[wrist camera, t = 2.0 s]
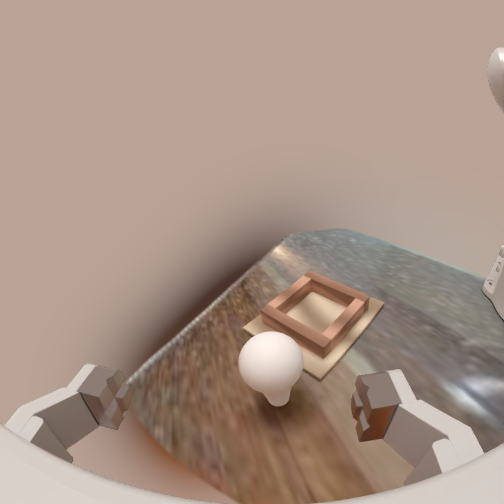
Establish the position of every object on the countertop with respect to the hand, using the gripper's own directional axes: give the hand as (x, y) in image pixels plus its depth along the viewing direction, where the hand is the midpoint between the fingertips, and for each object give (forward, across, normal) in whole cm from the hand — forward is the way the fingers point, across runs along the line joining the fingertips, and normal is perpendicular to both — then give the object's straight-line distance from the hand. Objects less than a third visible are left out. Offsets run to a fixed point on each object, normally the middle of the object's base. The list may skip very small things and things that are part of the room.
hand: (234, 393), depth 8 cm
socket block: (+28, -7, +14) cm, 33 cm away
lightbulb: (+16, -2, +18) cm, 25 cm away
